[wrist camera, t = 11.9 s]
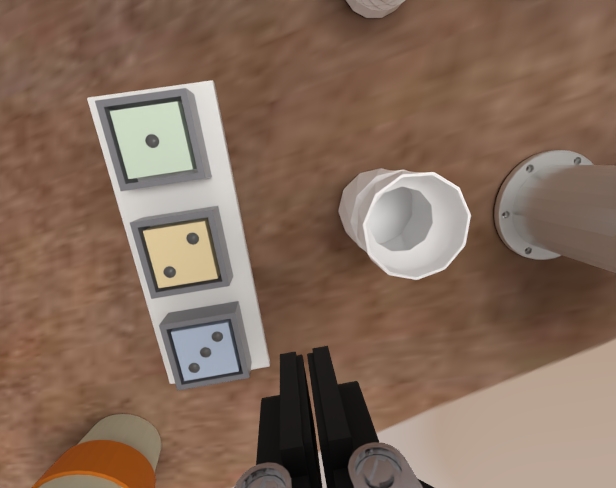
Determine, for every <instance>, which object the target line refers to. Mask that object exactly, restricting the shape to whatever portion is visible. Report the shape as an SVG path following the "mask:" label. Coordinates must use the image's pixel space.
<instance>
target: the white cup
mask: <svg viewBox="0 0 616 488" xmlns="http://www.w3.org/2000/svg"><path fill="white" fill-rule="evenodd" d="M346 1H347V3H348V4H349V6H350V7H351V8H352V10H353V11H354V12H356V13H358V14H360V15H362V16H364V17H365V18H383V17H385V16H386V15H388V14H390V13H392V12H393V11H395V10H396V9H397V8H398V7H399V6H400V5H401V4H402V2H404V1H405V0H346Z"/></svg>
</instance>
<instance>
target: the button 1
mask: <svg viewBox="0 0 616 488" xmlns="http://www.w3.org/2000/svg"><path fill="white" fill-rule="evenodd" d="M110 114H111V118H112V121H113V125H114V129H115V132H116V136H117V139H118V143H119V147H120V150H121V154H122V158H123V161H124V165H125V168H126V172H127V176H128V179H134V178H141V177H148V176H155V175H161V174H168V173H174V172H181V171H188V170H194V169H197V166H196V162H195V157H194V153H193V148H192V144H191V139H190V135H189V130H188V126H187V122H186V117H185V113H184V108H183V104H181V103H179V102H170V103H163V104H156V105H149V106H142V107H135V108H128V109H121V110H114V111H110Z"/></svg>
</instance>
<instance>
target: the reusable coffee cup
mask: <svg viewBox="0 0 616 488" xmlns="http://www.w3.org/2000/svg"><path fill="white" fill-rule="evenodd" d="M160 451H161V438H160V435H159V433H158V431H157V430H156V428H155V427H154V426H153V425H152V424H151V423H150V422H148V421H146V420H145V419H143V418H141V417H138V416H135V415H131V414H115V415H111V416H108V417H106V418H104V419H102V420H100V421H99V422H98V423H96V424H95V426H94V427H93V428H92V429H91V430H90V431H89V432H88V433H87V434H86V435H85V436H84V438H83V439H82V440H81V441H80V442H79V443H78V444H77V445H76V446H74V447H72V448H70V449H69V450H67V451H66V452H65V453H64V454H63V455H62V456H61V457H60V458H59V459H58V460H57V461H56V462H55V463H54V464H53V465H52V466H51V468H50V469H49V470H48V471H47V472H46V473H45V474H44V475H43V476H42V477H41V478H40V479H39V480H38V481H37V482H36V483H35V485H34V486H33V487H32V488H155V481H156V479H155V470H156V466H157V463H158V459H159V455H160Z"/></svg>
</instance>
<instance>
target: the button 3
mask: <svg viewBox="0 0 616 488" xmlns="http://www.w3.org/2000/svg"><path fill="white" fill-rule="evenodd" d="M171 334H172V338H173V342H174V345H175V349H176V352H177V356H178V360H179V363H180V367H181V370H182V374H183V378H184V381H188V380H193V379H199V378H204V377H210V376H216V375H221V374H227V373H233V372H238V371H239V368H240V363H241V362H240V358H239V353H238V349H237V344H236V340H235V335H234V331H233V326H232V322H231V319H225V320H219V321H213V322H207V323H202V324H196V325H190V326H184V327H178V328H173V330H172V331H171Z"/></svg>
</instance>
